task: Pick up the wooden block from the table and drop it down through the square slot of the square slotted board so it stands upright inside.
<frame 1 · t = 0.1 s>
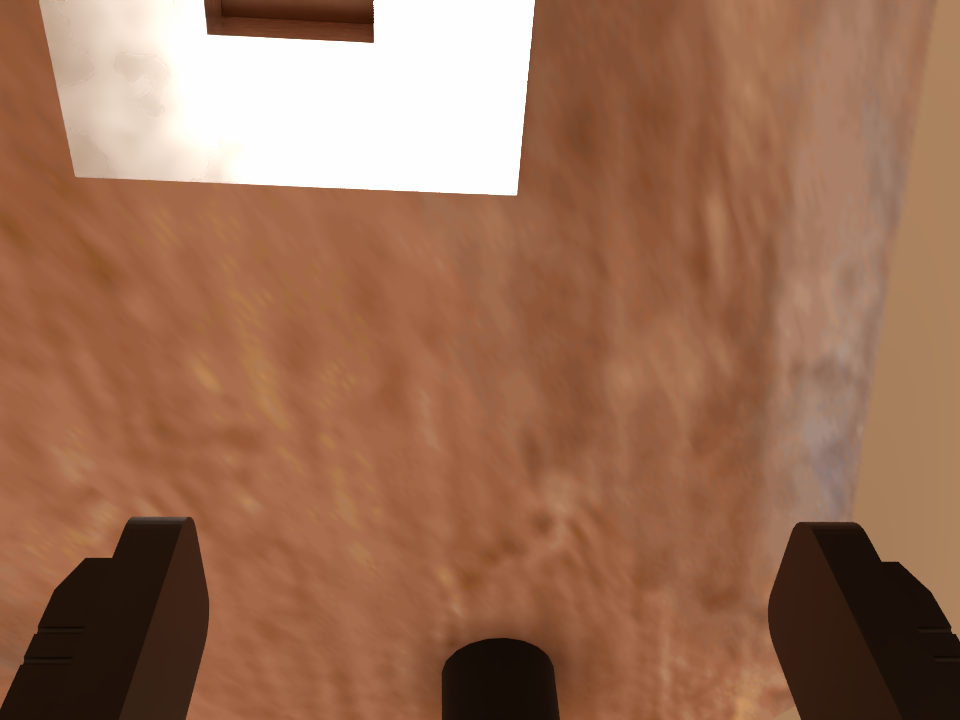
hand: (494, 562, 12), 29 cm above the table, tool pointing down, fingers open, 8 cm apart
wine bottle: (497, 672, 60), on the table
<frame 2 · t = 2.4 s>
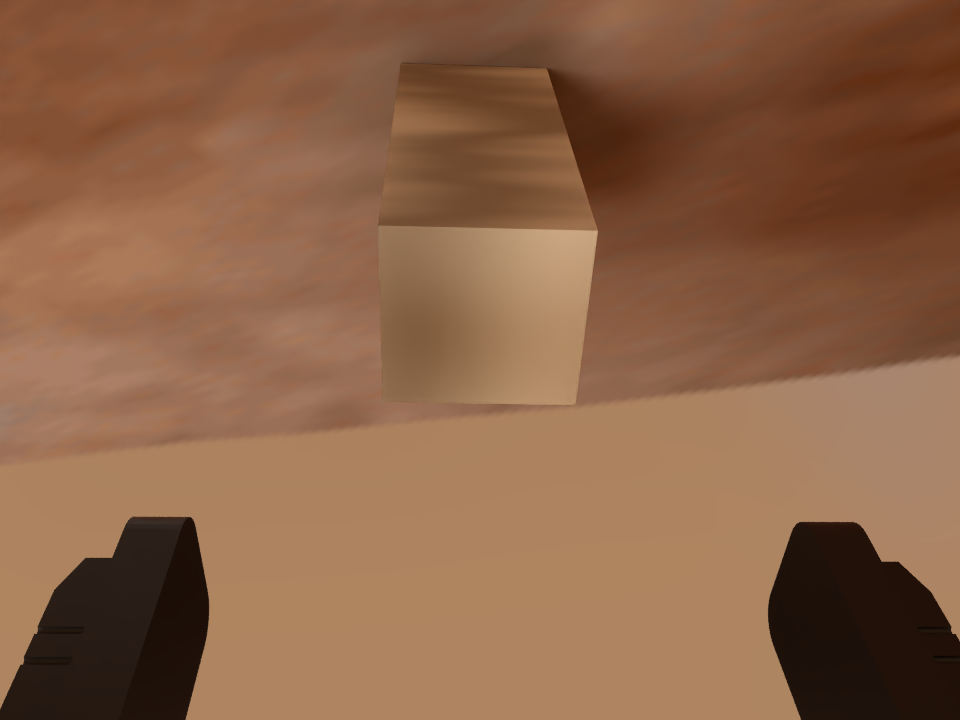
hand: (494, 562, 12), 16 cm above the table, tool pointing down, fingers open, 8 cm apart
wooden block: (471, 136, 26), on the table
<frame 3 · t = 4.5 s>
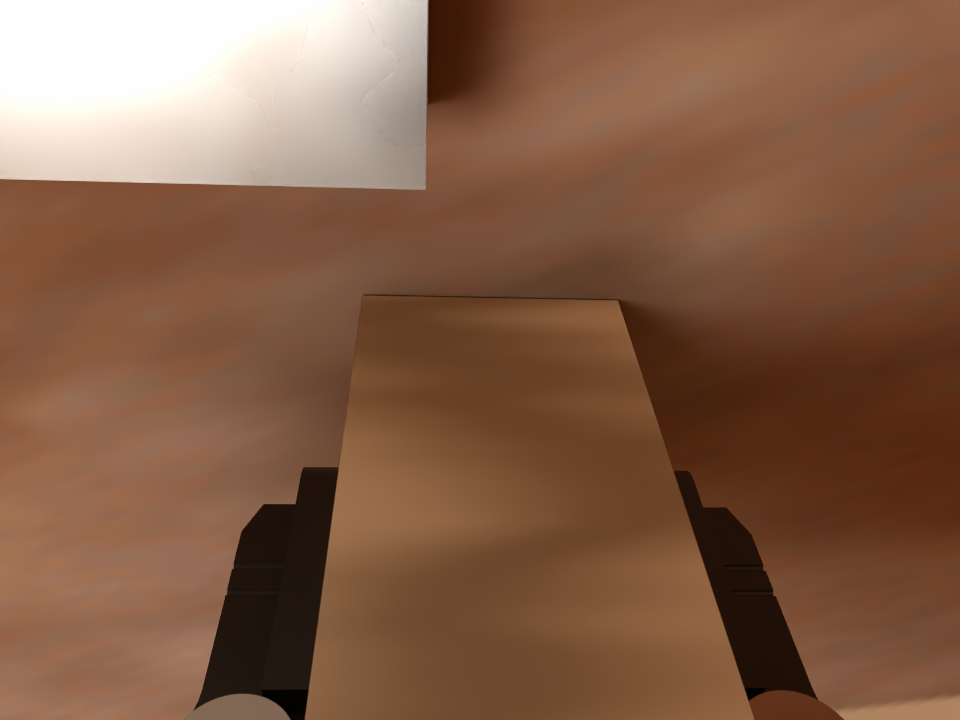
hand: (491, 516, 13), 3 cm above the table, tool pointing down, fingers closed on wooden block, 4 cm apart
wooden block: (484, 400, 15), on the table, touching gripper
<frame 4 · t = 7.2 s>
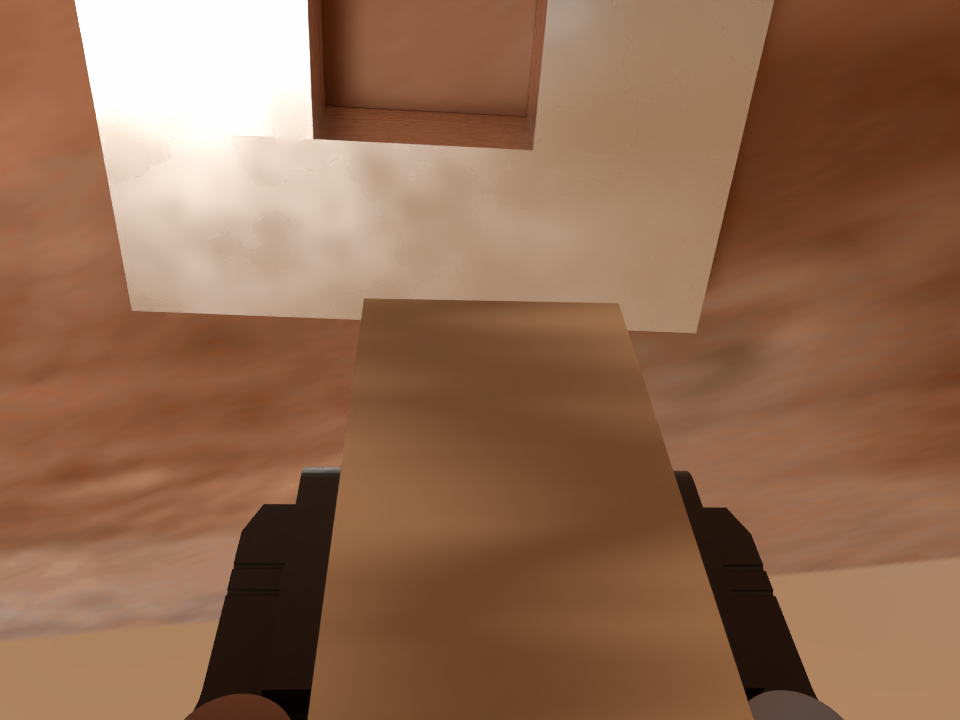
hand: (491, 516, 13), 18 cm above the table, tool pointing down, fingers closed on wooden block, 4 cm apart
square slotted board: (429, 6, 26), on the table
wooden block: (486, 402, 15), point 15 cm above the table, touching gripper
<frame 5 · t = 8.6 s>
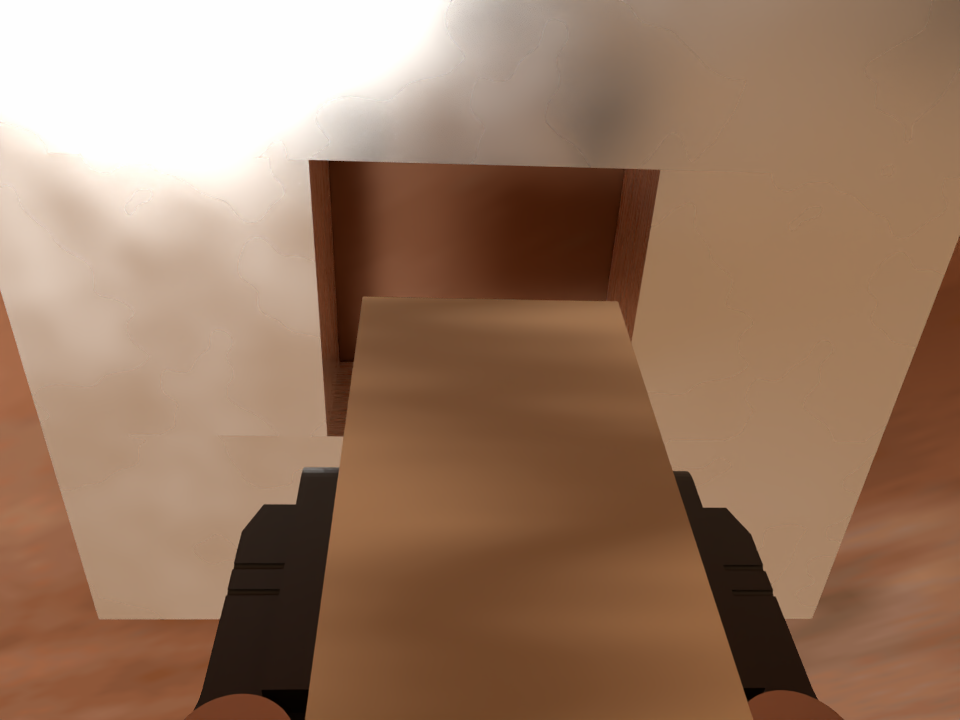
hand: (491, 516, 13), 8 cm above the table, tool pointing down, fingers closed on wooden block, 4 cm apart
square slotted board: (474, 248, 20), on the table
wooden block: (485, 401, 15), point 6 cm above the table, touching gripper
when the fingers open (4 cm above the table, at t = 9.9 s): wooden block drops 1 cm, resting in square slotted board.
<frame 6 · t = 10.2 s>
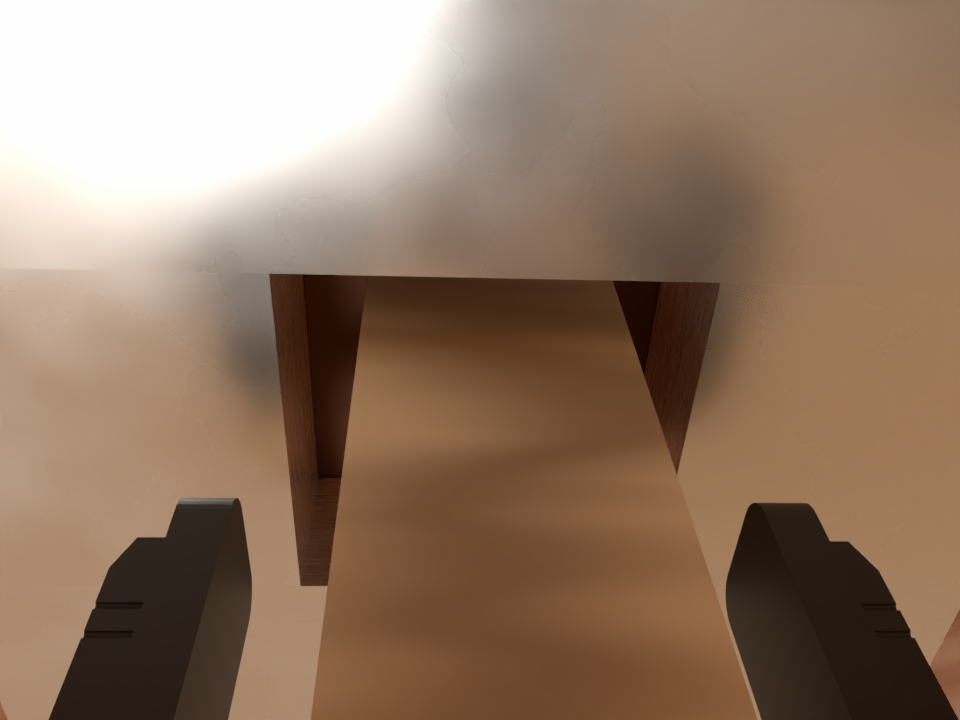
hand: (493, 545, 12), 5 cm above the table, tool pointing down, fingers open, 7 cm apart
square slotted board: (479, 351, 16), on the table
wooden block: (481, 351, 16), resting in square slotted board
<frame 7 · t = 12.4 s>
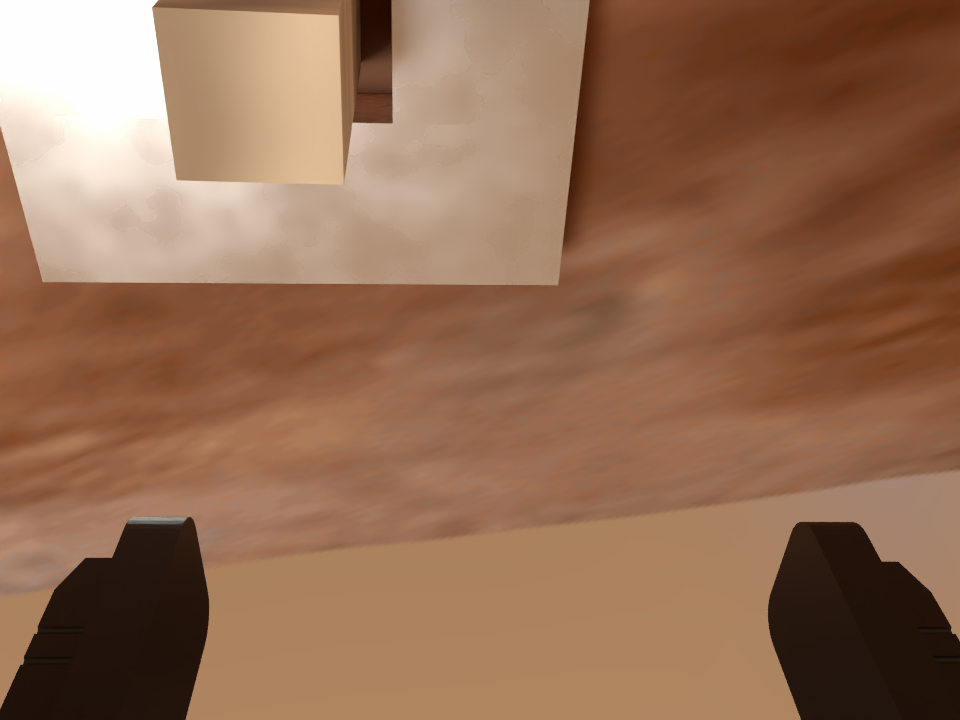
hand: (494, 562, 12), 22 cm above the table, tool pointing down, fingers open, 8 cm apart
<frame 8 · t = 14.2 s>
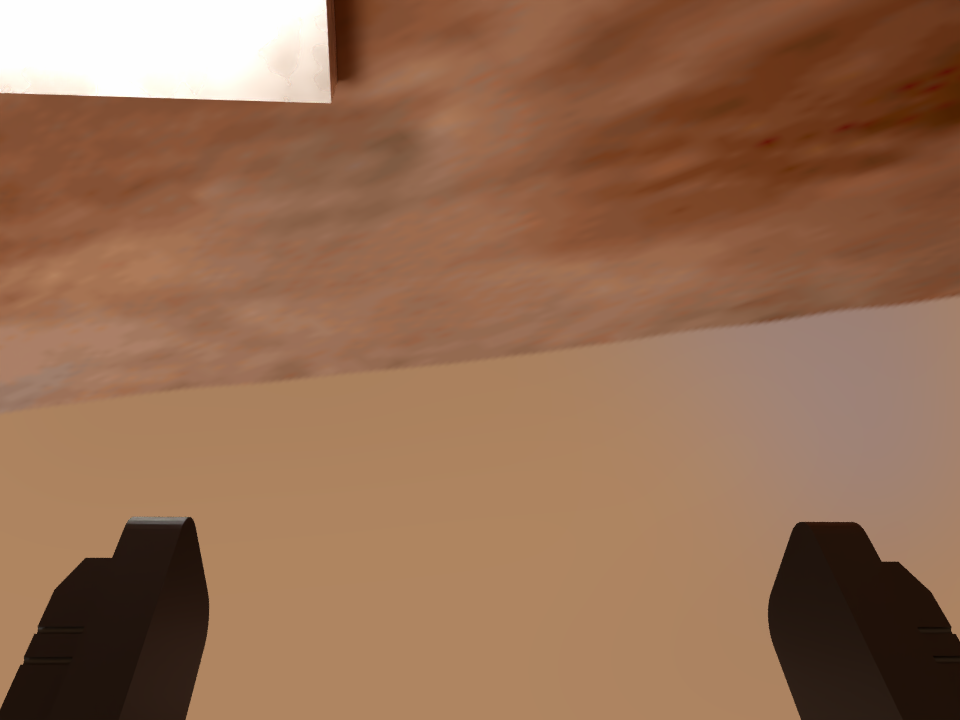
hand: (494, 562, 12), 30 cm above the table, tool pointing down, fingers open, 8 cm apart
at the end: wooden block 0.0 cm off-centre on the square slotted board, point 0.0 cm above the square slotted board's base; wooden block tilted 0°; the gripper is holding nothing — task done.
